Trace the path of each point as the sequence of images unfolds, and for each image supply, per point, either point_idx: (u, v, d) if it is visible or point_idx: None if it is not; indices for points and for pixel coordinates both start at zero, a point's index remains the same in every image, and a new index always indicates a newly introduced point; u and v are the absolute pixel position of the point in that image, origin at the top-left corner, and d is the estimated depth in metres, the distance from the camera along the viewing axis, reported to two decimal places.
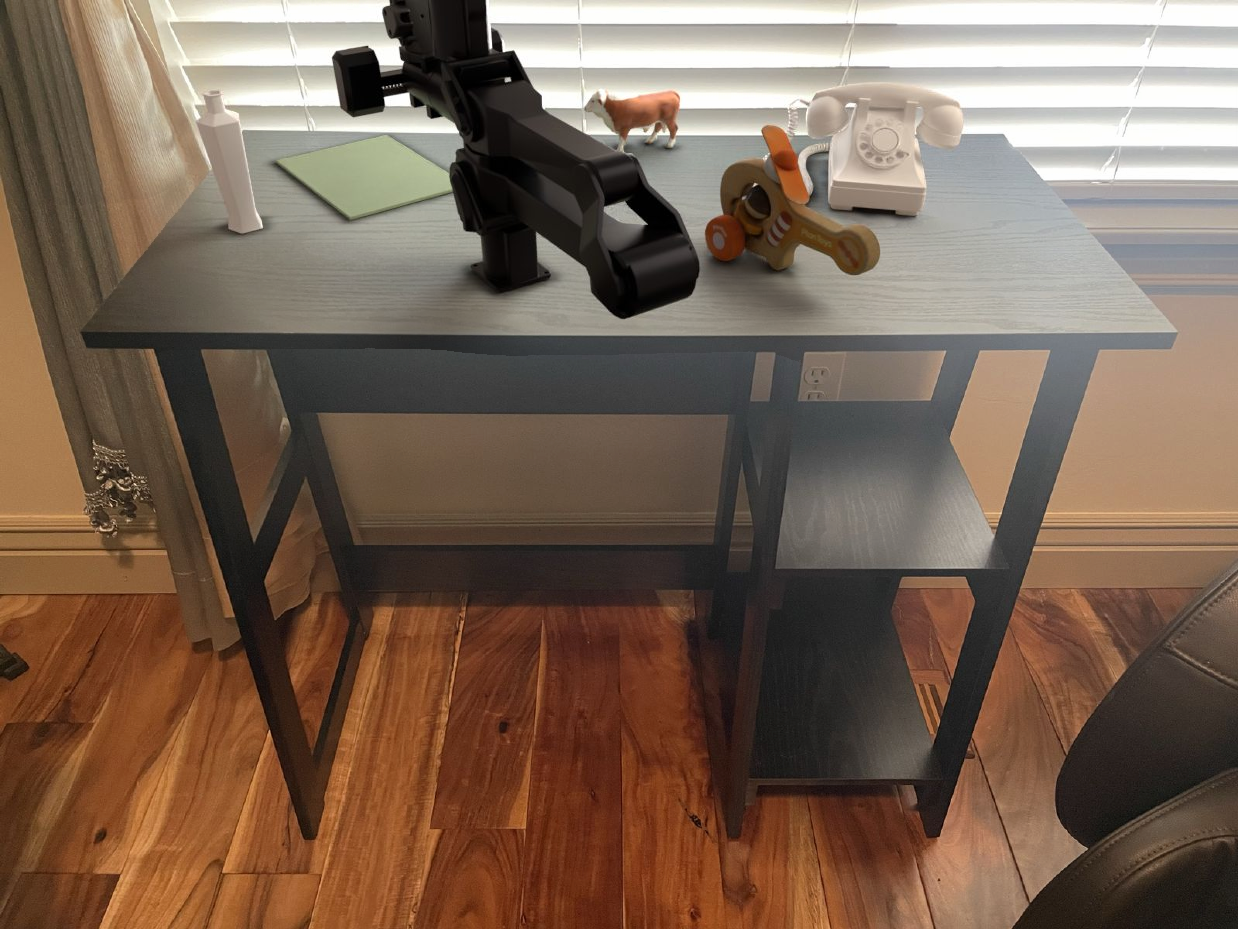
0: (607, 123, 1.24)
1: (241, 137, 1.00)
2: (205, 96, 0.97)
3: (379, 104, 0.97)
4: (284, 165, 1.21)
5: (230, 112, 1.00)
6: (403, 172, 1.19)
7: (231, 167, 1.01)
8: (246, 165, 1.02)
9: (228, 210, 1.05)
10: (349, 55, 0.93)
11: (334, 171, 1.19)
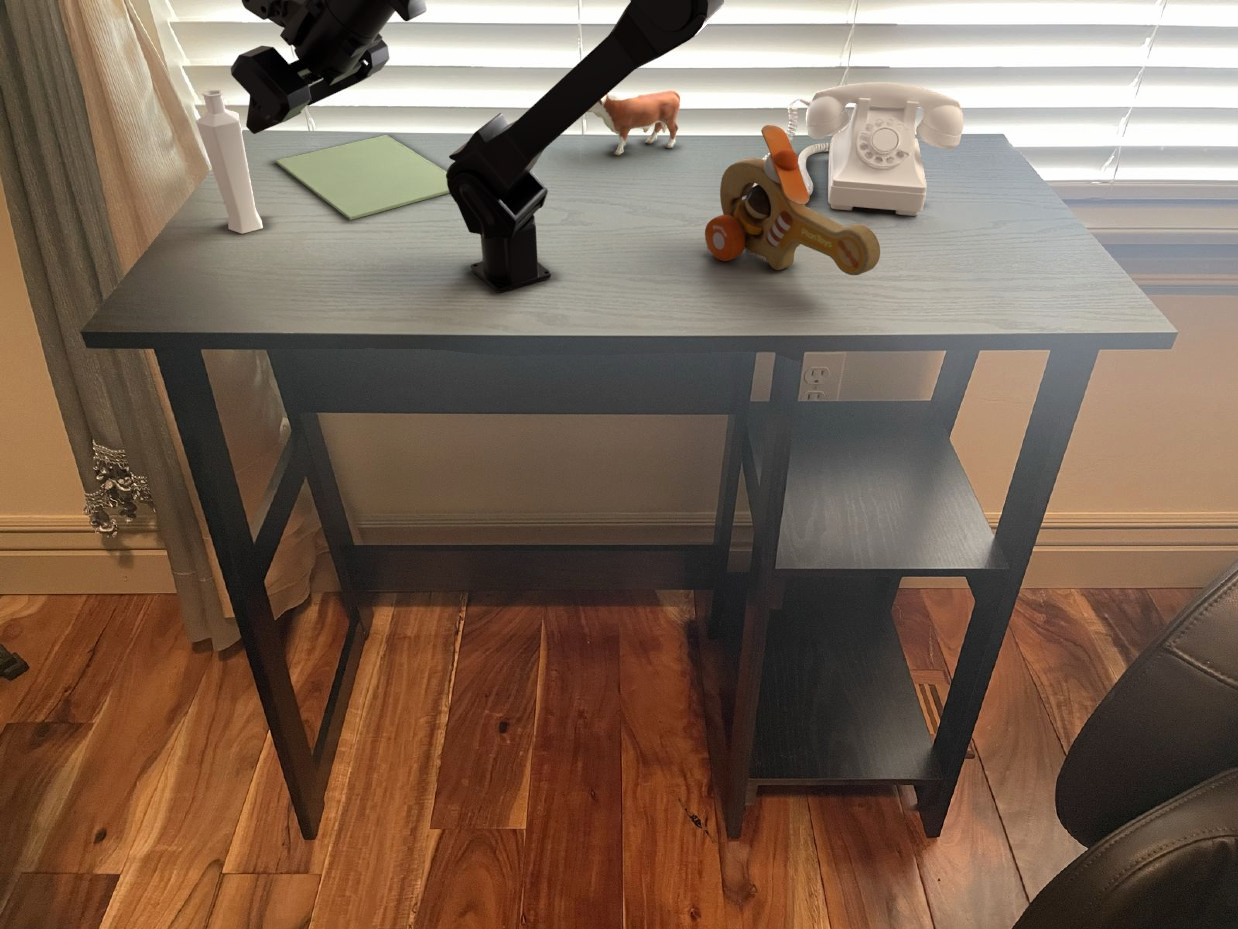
0: (607, 123, 1.24)
1: (241, 137, 1.00)
2: (205, 96, 0.97)
3: (303, 85, 0.86)
4: (284, 165, 1.21)
5: (230, 112, 1.00)
6: (403, 172, 1.19)
7: (231, 167, 1.01)
8: (246, 165, 1.02)
9: (228, 210, 1.05)
10: (245, 53, 0.84)
11: (334, 171, 1.19)
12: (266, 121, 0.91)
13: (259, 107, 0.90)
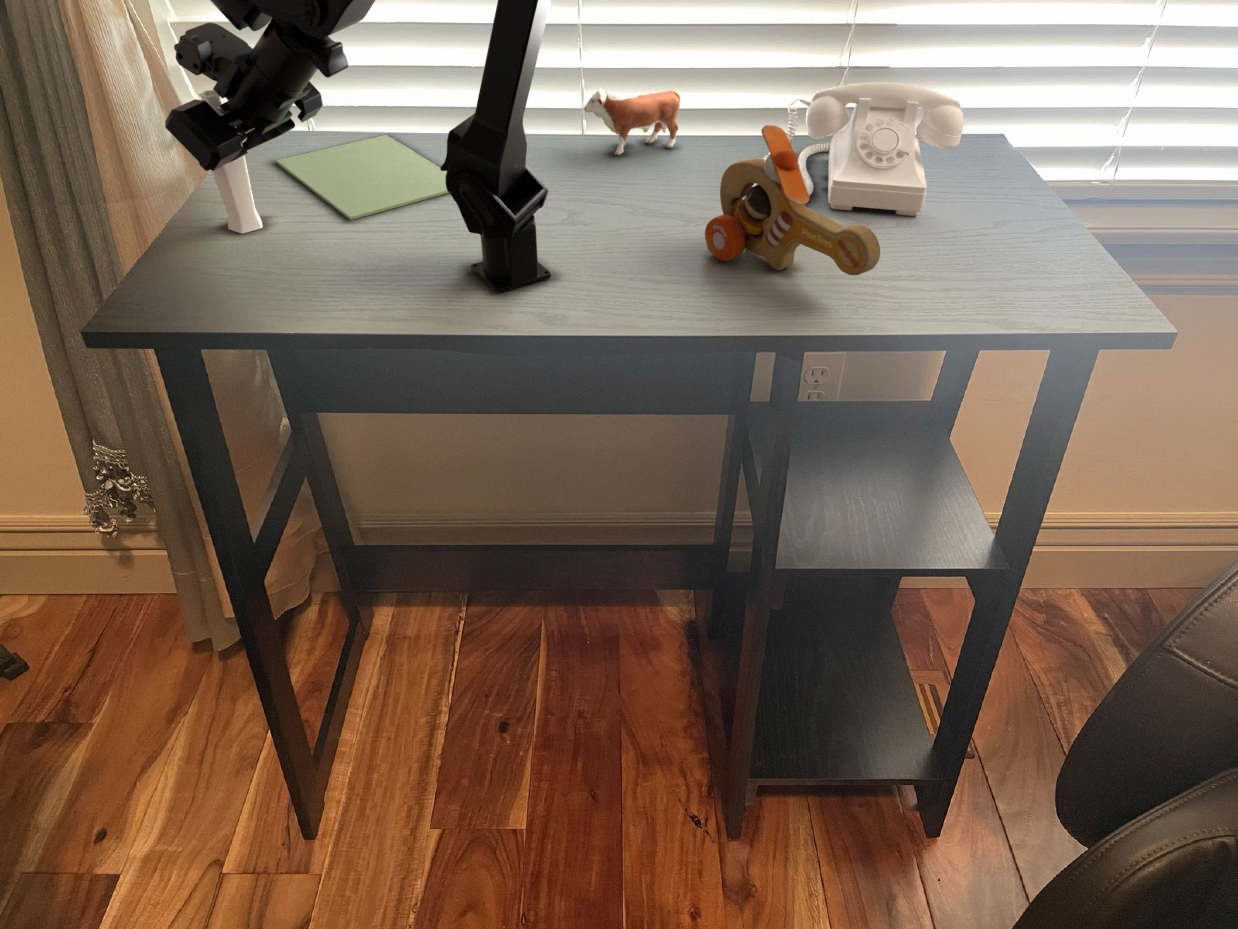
0: (607, 123, 1.24)
1: None
2: (202, 97, 0.97)
3: (233, 136, 0.93)
4: (284, 165, 1.21)
5: None
6: (403, 172, 1.19)
7: (230, 168, 1.01)
8: (245, 165, 1.02)
9: (228, 211, 1.05)
10: (177, 108, 0.90)
11: (334, 171, 1.19)
12: None
13: None
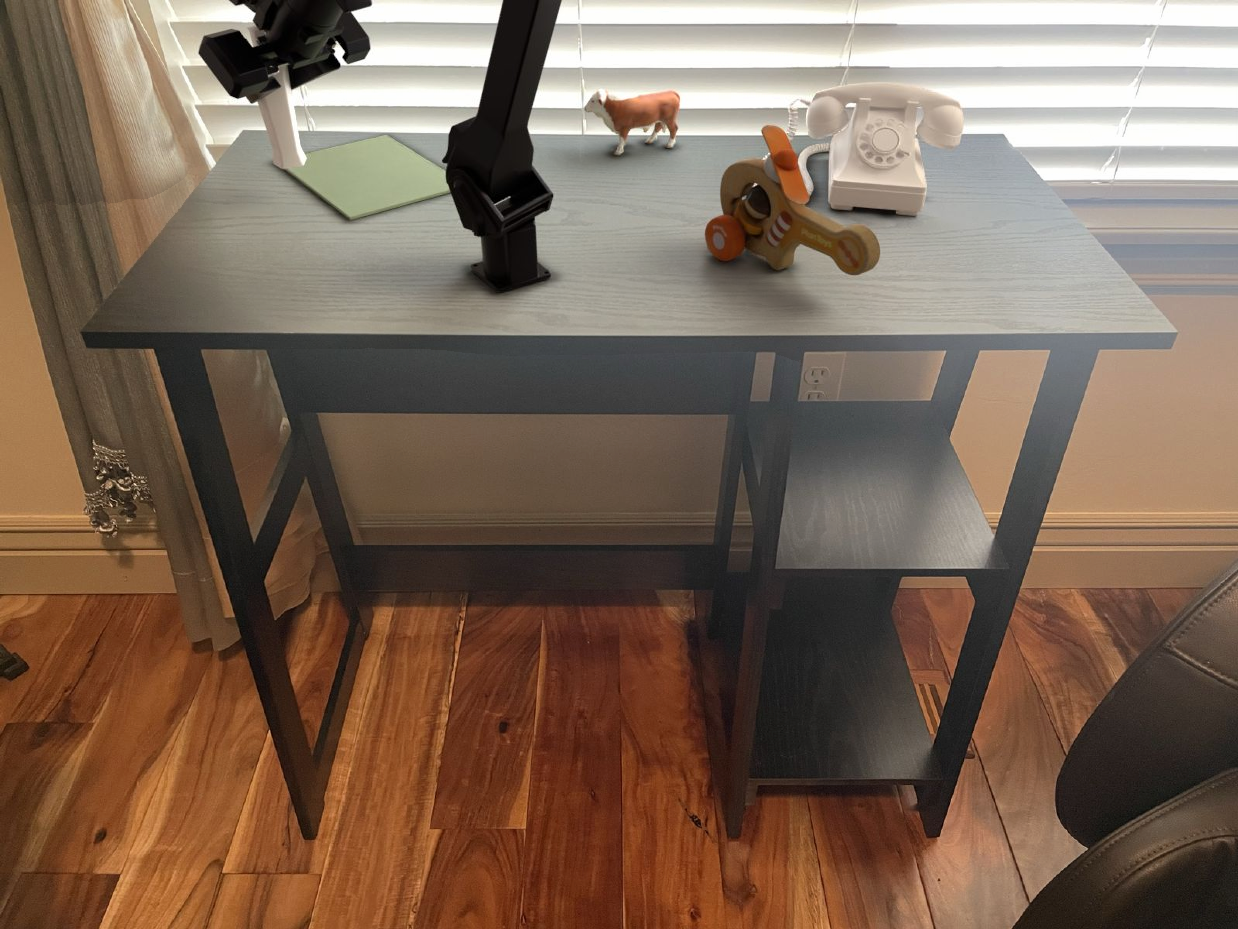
0: (607, 123, 1.24)
1: (282, 73, 1.03)
2: (250, 30, 1.00)
3: (260, 67, 0.95)
4: None
5: None
6: (403, 172, 1.19)
7: (272, 102, 1.04)
8: (287, 101, 1.05)
9: (272, 145, 1.08)
10: (210, 34, 0.94)
11: (334, 171, 1.19)
12: (255, 92, 1.02)
13: None
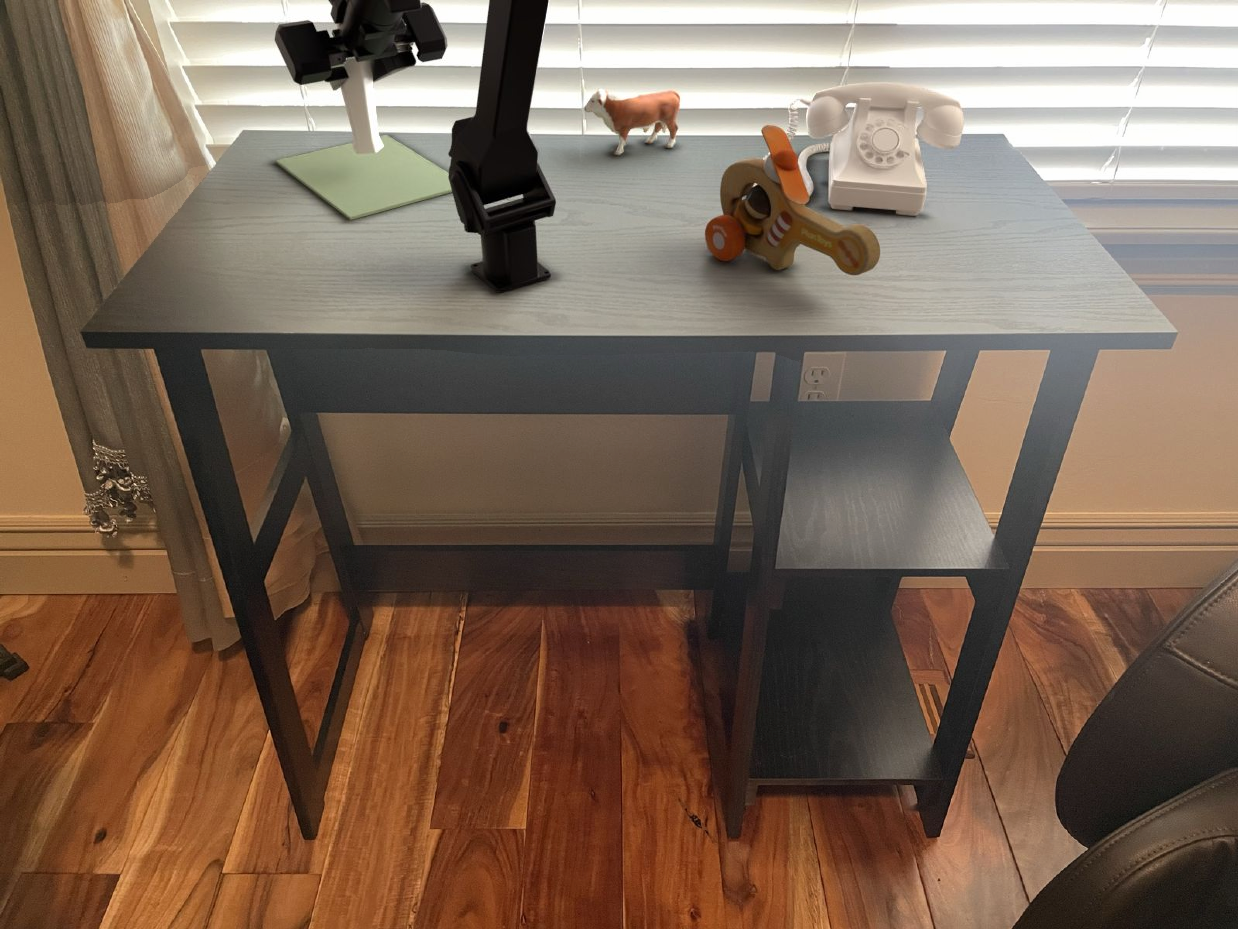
0: (607, 123, 1.24)
1: (360, 64, 1.09)
2: None
3: (323, 57, 1.01)
4: (284, 165, 1.21)
5: None
6: (403, 172, 1.19)
7: (350, 91, 1.11)
8: (364, 91, 1.11)
9: (352, 131, 1.15)
10: (285, 24, 1.01)
11: (334, 171, 1.19)
12: None
13: None
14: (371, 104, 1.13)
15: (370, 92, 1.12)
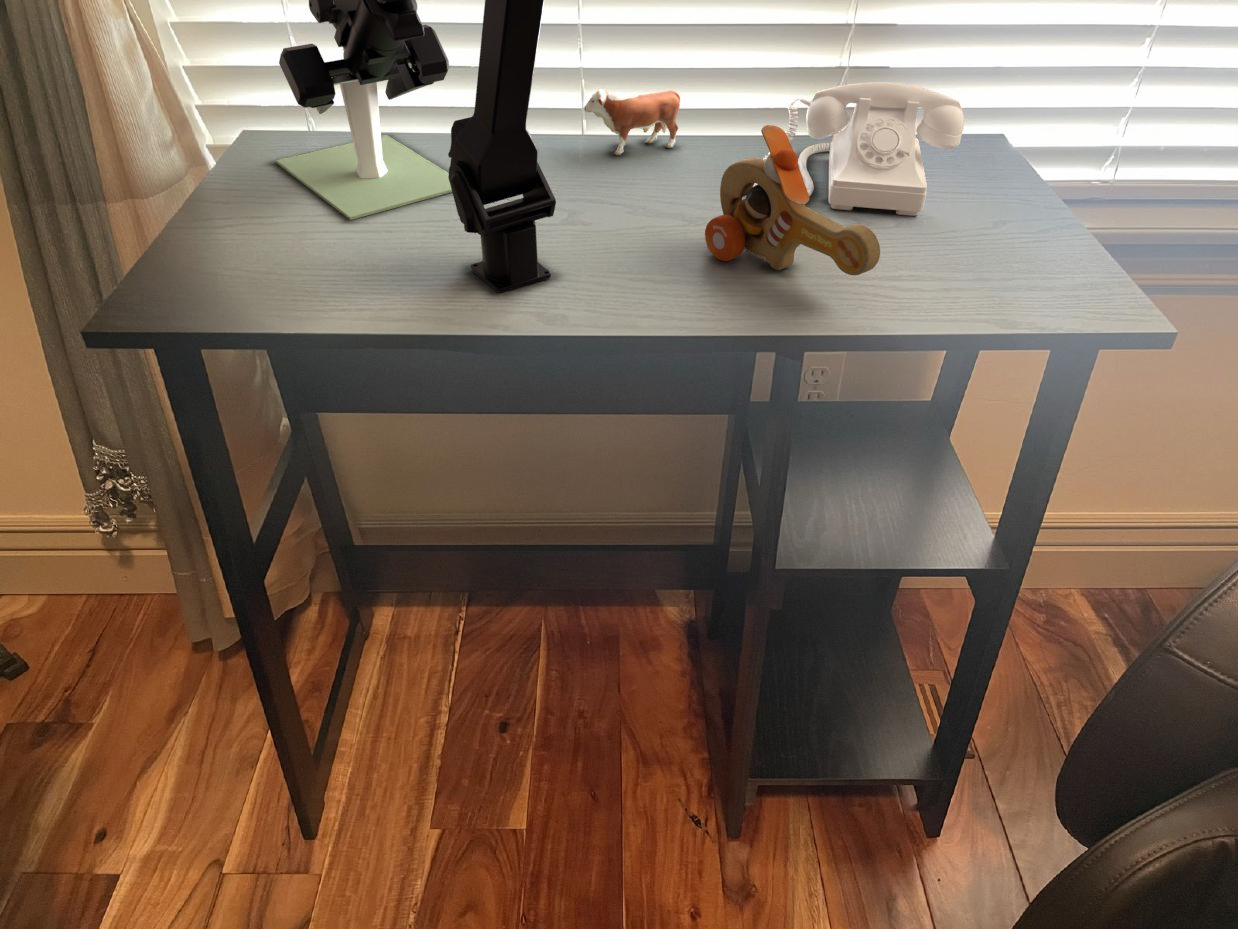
0: (607, 123, 1.24)
1: (367, 93, 1.11)
2: None
3: (327, 81, 1.03)
4: (284, 165, 1.21)
5: None
6: (403, 172, 1.19)
7: (356, 118, 1.13)
8: (370, 118, 1.13)
9: None
10: (290, 47, 1.03)
11: (334, 171, 1.19)
12: None
13: None
14: (376, 130, 1.15)
15: (376, 119, 1.14)
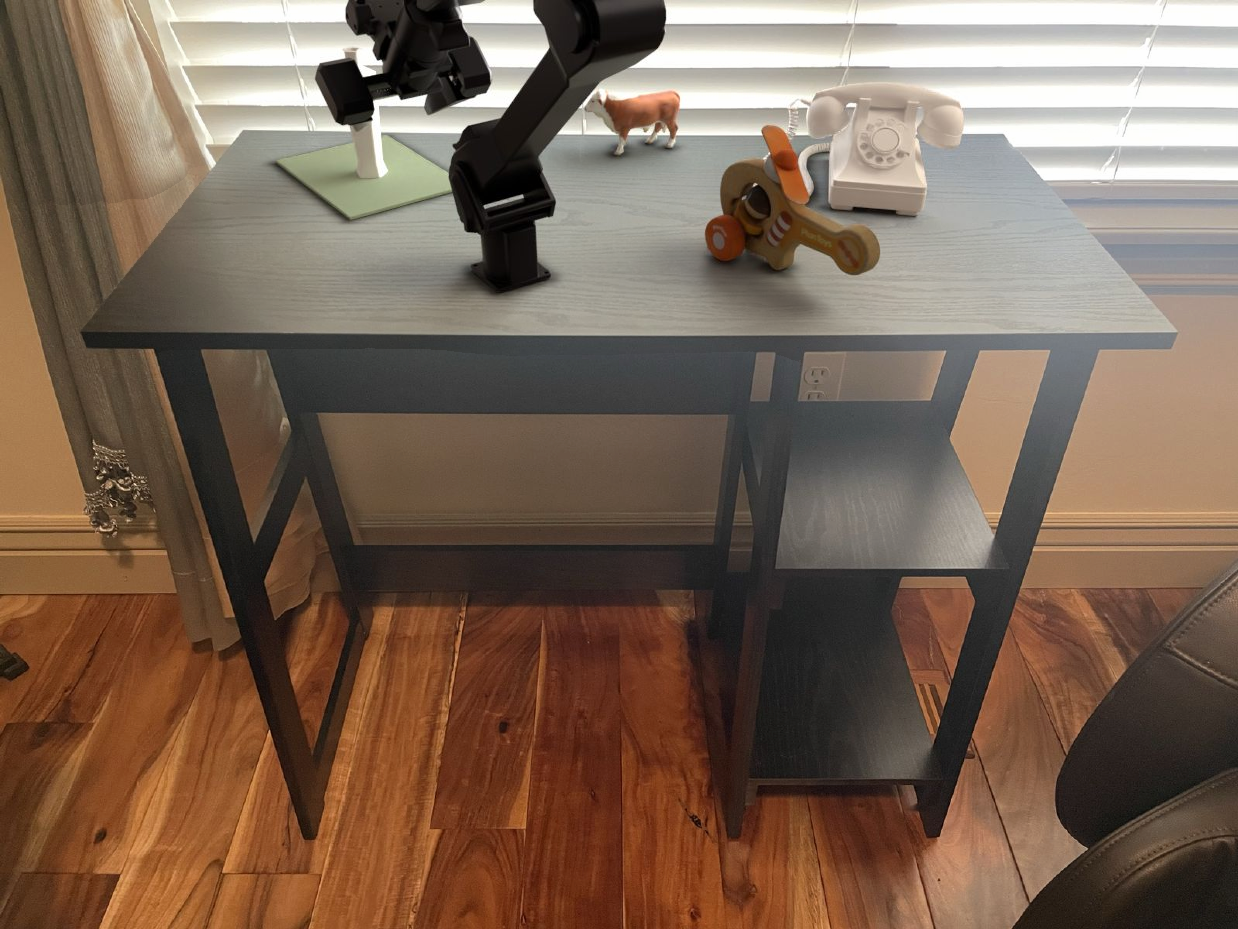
0: (607, 123, 1.24)
1: None
2: (344, 51, 1.09)
3: (366, 96, 0.97)
4: (284, 165, 1.21)
5: (365, 69, 1.11)
6: (403, 172, 1.19)
7: None
8: None
9: None
10: (326, 62, 0.97)
11: (334, 171, 1.19)
12: None
13: None
14: (376, 130, 1.15)
15: (376, 119, 1.14)
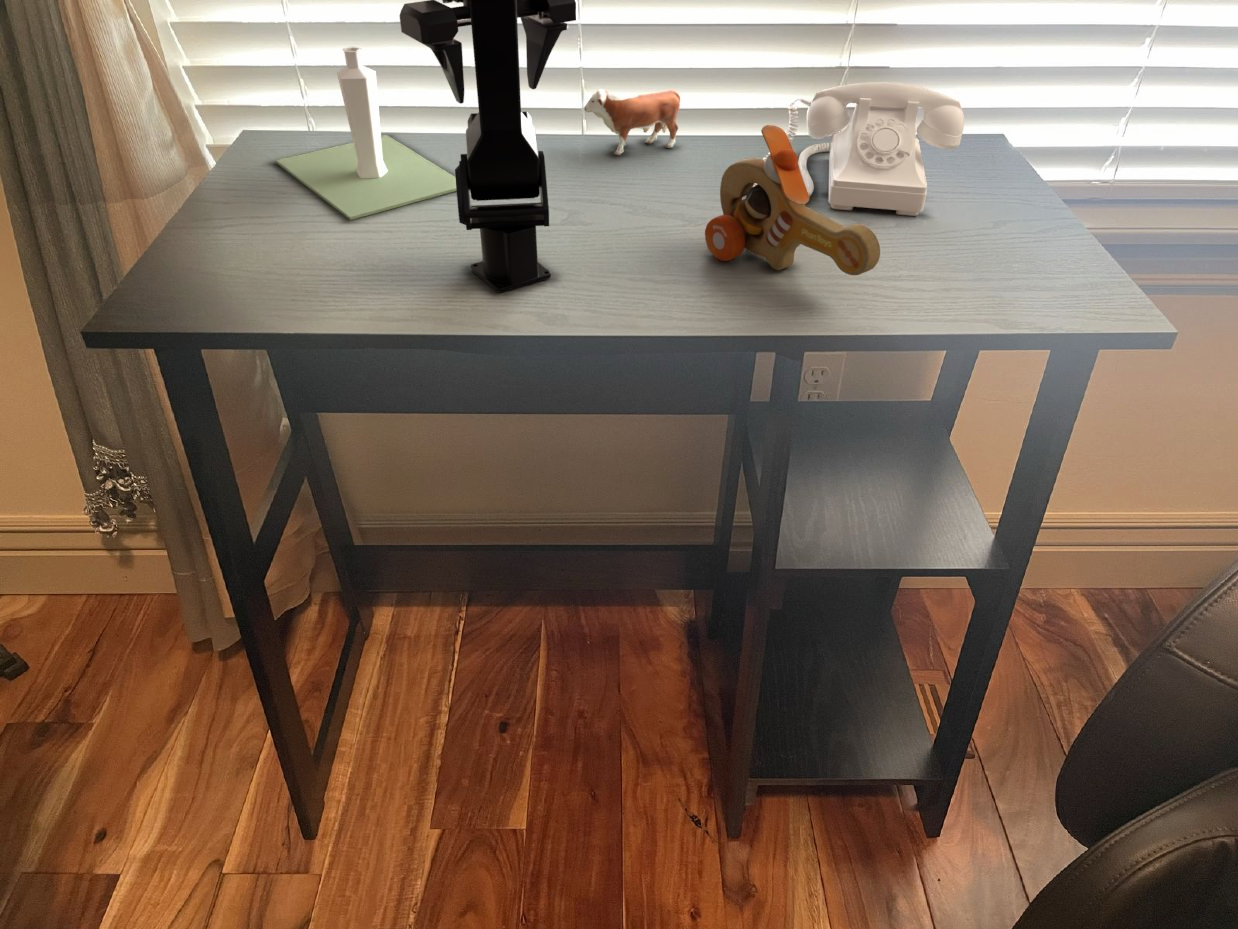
0: (607, 123, 1.24)
1: (367, 93, 1.11)
2: (344, 51, 1.09)
3: (446, 8, 0.94)
4: (284, 165, 1.21)
5: (365, 69, 1.11)
6: (403, 172, 1.19)
7: (356, 118, 1.13)
8: (370, 118, 1.13)
9: None
10: None
11: (334, 171, 1.19)
12: (452, 75, 0.99)
13: (446, 66, 1.00)
14: (376, 130, 1.15)
15: (376, 119, 1.14)
